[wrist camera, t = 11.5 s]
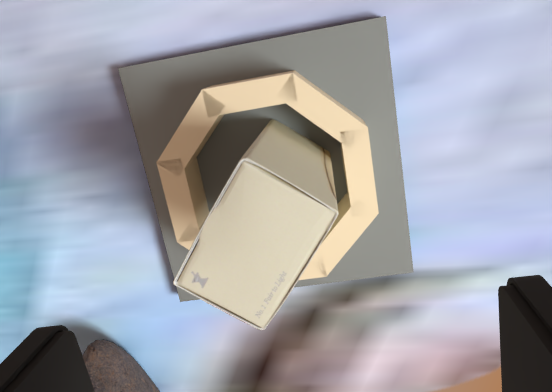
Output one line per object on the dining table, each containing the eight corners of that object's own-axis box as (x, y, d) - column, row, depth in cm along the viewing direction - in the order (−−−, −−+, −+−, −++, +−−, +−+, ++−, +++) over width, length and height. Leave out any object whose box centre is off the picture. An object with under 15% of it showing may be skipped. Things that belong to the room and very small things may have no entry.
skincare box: (282, 230, 31) (263, 339, 19) (222, 197, 31) (167, 288, 19) (333, 148, 29) (346, 215, 17) (270, 111, 29) (240, 155, 17)
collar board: (383, 17, 28) (394, 12, 24) (410, 265, 32) (423, 295, 28) (124, 67, 30) (96, 70, 26) (184, 294, 34) (167, 325, 30)
